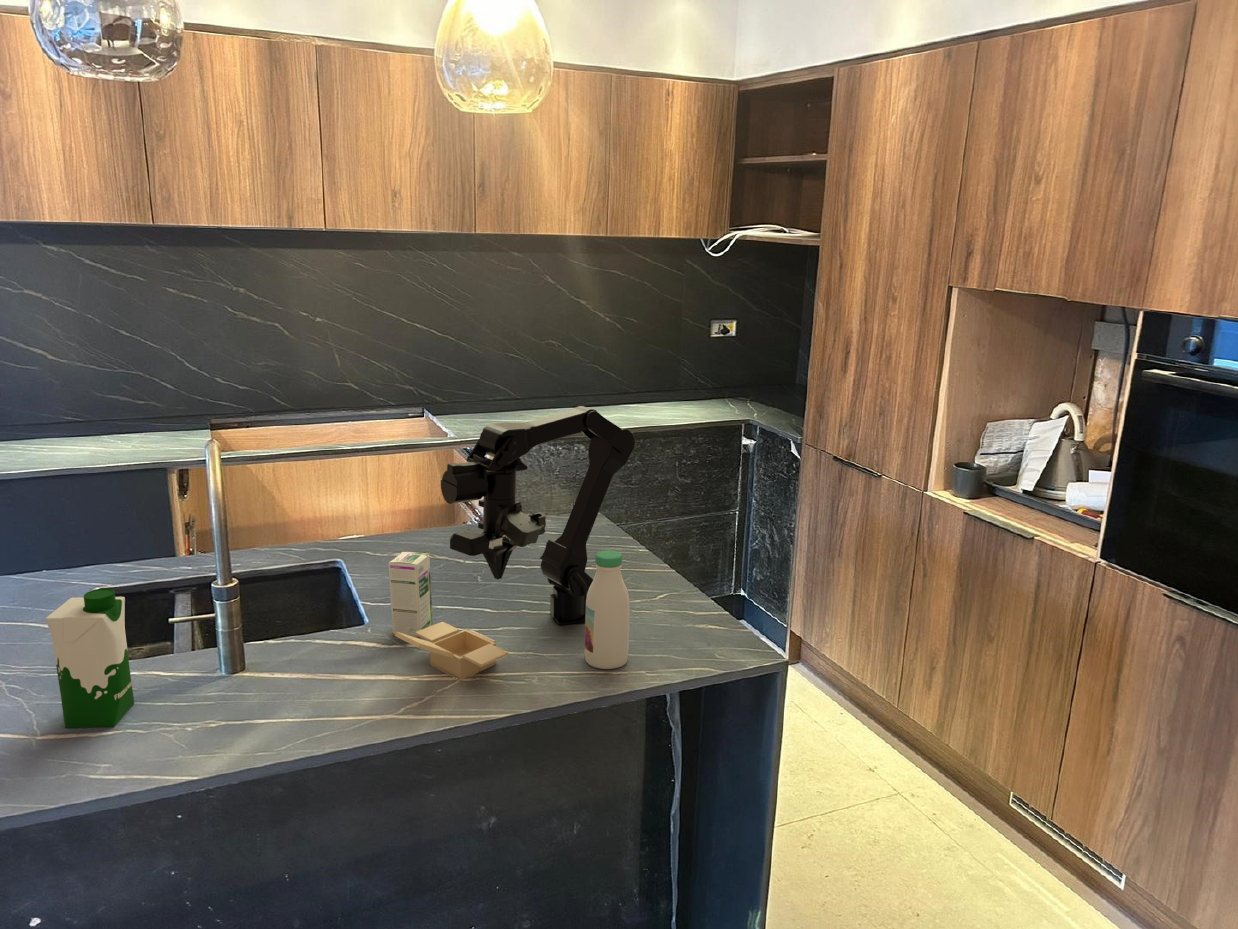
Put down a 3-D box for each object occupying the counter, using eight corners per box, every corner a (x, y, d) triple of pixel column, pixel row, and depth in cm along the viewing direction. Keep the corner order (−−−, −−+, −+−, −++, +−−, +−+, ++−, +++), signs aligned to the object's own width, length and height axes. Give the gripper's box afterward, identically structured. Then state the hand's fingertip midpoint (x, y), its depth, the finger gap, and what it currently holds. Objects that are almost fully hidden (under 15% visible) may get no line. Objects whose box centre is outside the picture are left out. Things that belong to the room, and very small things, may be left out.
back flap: (429, 642, 154) (396, 631, 148) (454, 653, 150) (420, 643, 144) (428, 645, 154) (394, 635, 148) (452, 658, 150) (418, 647, 144)
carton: (451, 640, 166) (451, 618, 165) (517, 671, 155) (517, 648, 154) (413, 656, 160) (412, 633, 158) (478, 690, 149) (478, 665, 148)
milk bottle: (633, 654, 162) (637, 549, 157) (619, 673, 155) (622, 564, 150) (593, 647, 165) (595, 543, 160) (577, 666, 158) (579, 558, 153)
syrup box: (420, 638, 167) (418, 564, 163) (390, 634, 168) (387, 561, 164) (433, 625, 172) (431, 553, 168) (404, 621, 173) (401, 550, 169)
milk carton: (118, 730, 134) (102, 605, 129) (54, 731, 134) (35, 606, 128) (143, 700, 143) (128, 582, 138) (83, 701, 142) (66, 582, 137)
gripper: (494, 516, 148) (492, 605, 152) (568, 495, 163) (565, 577, 167) (448, 502, 155) (447, 587, 159) (523, 483, 169) (521, 561, 173)
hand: (498, 578), depth 164 cm, fingers closed
